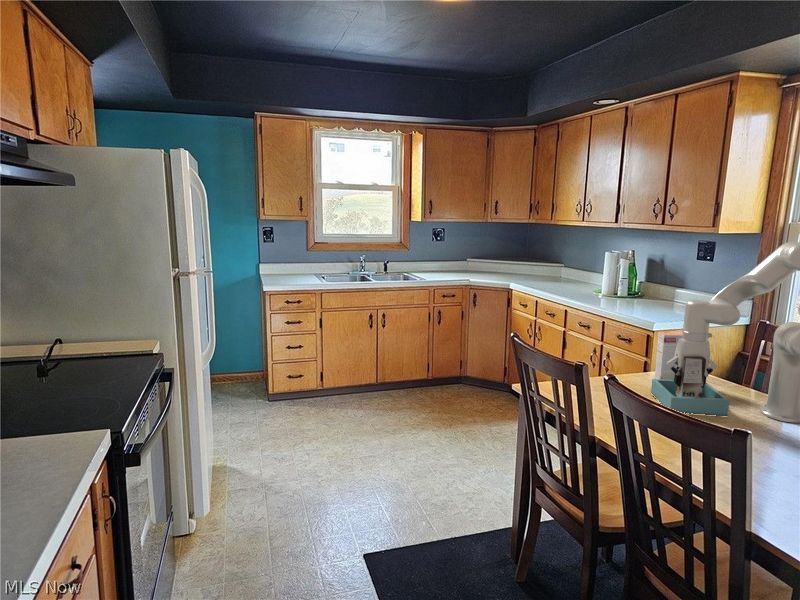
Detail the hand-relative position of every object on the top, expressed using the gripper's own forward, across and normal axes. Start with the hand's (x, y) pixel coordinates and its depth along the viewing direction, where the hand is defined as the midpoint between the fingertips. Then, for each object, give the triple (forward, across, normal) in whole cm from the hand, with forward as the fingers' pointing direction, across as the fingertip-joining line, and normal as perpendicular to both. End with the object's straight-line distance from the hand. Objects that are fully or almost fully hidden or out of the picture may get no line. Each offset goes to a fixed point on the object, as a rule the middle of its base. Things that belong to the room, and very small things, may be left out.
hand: (689, 385), depth 172 cm
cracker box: (+8, -4, -21) cm, 23 cm away
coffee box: (+5, 0, 0) cm, 5 cm away
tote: (+7, 0, 0) cm, 7 cm away
